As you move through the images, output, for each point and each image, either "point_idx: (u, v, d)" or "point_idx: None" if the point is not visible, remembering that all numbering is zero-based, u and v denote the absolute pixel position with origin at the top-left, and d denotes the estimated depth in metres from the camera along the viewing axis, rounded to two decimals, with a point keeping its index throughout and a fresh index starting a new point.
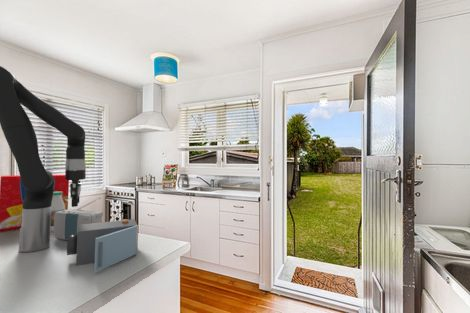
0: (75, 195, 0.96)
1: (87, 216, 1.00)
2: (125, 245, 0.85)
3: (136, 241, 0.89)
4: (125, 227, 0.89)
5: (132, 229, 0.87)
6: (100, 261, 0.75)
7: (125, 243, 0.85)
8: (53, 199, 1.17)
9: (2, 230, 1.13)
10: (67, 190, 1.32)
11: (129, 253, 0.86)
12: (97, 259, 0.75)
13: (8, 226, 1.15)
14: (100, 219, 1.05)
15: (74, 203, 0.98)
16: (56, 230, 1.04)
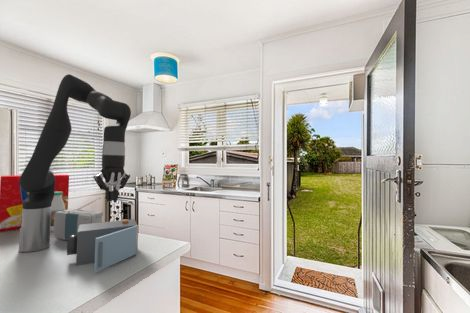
0: None
1: (87, 216, 1.00)
2: (125, 245, 0.85)
3: (136, 241, 0.89)
4: (125, 227, 0.89)
5: (132, 229, 0.87)
6: (100, 261, 0.75)
7: (125, 243, 0.85)
8: (53, 199, 1.17)
9: (2, 230, 1.13)
10: (67, 190, 1.32)
11: (129, 253, 0.86)
12: (97, 259, 0.75)
13: (8, 226, 1.15)
14: (100, 219, 1.05)
15: None
16: (56, 230, 1.04)
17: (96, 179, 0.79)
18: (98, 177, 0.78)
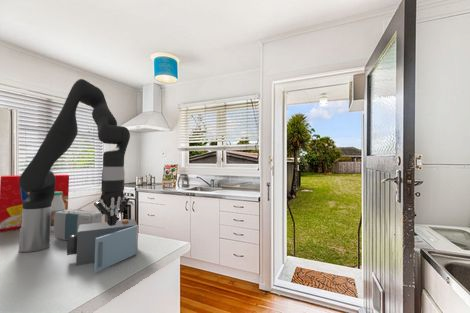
0: None
1: (87, 216, 1.00)
2: (125, 245, 0.85)
3: (136, 241, 0.89)
4: (125, 227, 0.89)
5: (132, 229, 0.87)
6: (100, 261, 0.75)
7: (125, 243, 0.85)
8: (53, 199, 1.17)
9: (2, 230, 1.13)
10: (67, 190, 1.32)
11: (129, 253, 0.86)
12: (97, 259, 0.75)
13: (8, 226, 1.15)
14: (100, 219, 1.05)
15: None
16: (56, 230, 1.04)
17: (96, 206, 0.79)
18: (99, 204, 0.78)
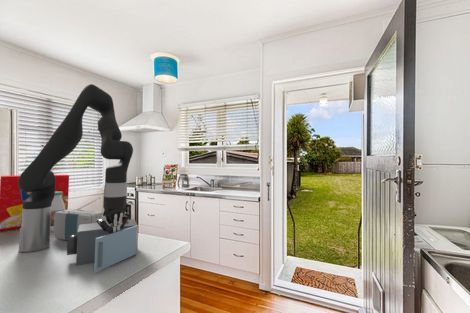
0: None
1: (87, 216, 1.00)
2: (125, 245, 0.85)
3: (136, 241, 0.89)
4: (125, 227, 0.89)
5: (132, 229, 0.87)
6: (100, 261, 0.75)
7: (125, 243, 0.85)
8: (53, 199, 1.17)
9: (2, 230, 1.13)
10: (67, 190, 1.32)
11: (129, 253, 0.86)
12: (97, 259, 0.75)
13: (8, 226, 1.15)
14: None
15: None
16: (56, 230, 1.04)
17: (100, 224, 0.77)
18: (102, 222, 0.77)
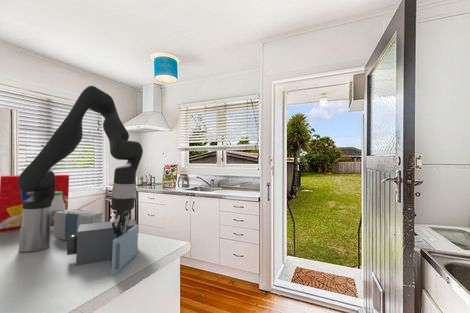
0: None
1: (87, 216, 1.00)
2: (131, 245, 0.84)
3: (137, 241, 0.89)
4: None
5: (135, 229, 0.87)
6: (118, 263, 0.74)
7: (131, 243, 0.84)
8: (53, 199, 1.17)
9: (2, 230, 1.13)
10: (67, 190, 1.32)
11: (133, 253, 0.86)
12: (115, 261, 0.73)
13: (8, 226, 1.15)
14: (100, 219, 1.05)
15: None
16: (56, 230, 1.04)
17: (115, 226, 0.75)
18: (120, 224, 0.75)
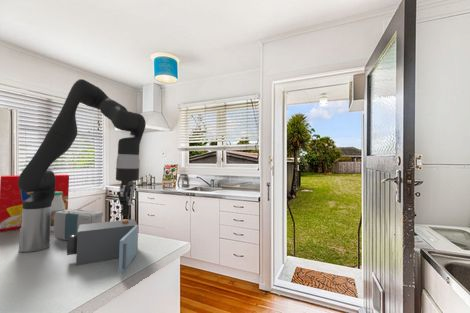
0: None
1: (87, 216, 1.00)
2: (133, 245, 0.84)
3: (137, 241, 0.89)
4: (125, 227, 0.89)
5: (135, 229, 0.87)
6: (125, 263, 0.74)
7: (133, 243, 0.84)
8: (53, 199, 1.17)
9: (2, 230, 1.13)
10: (67, 190, 1.32)
11: (134, 253, 0.86)
12: (122, 261, 0.74)
13: (8, 226, 1.15)
14: (100, 219, 1.05)
15: None
16: (56, 230, 1.04)
17: (121, 196, 0.75)
18: (125, 193, 0.75)
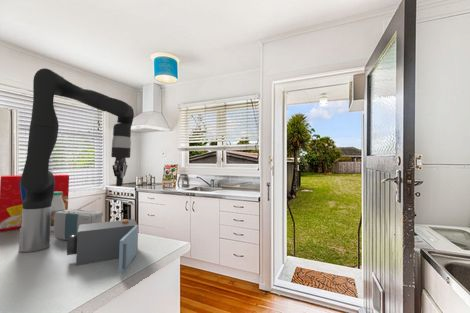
0: None
1: (87, 216, 1.00)
2: (133, 245, 0.84)
3: (137, 241, 0.89)
4: (125, 227, 0.89)
5: (135, 229, 0.87)
6: (125, 263, 0.74)
7: (133, 243, 0.84)
8: (53, 199, 1.17)
9: (2, 230, 1.13)
10: (67, 190, 1.32)
11: (134, 253, 0.86)
12: (122, 261, 0.74)
13: (8, 226, 1.15)
14: (100, 219, 1.05)
15: None
16: (56, 230, 1.04)
17: (115, 168, 0.94)
18: (118, 166, 0.94)
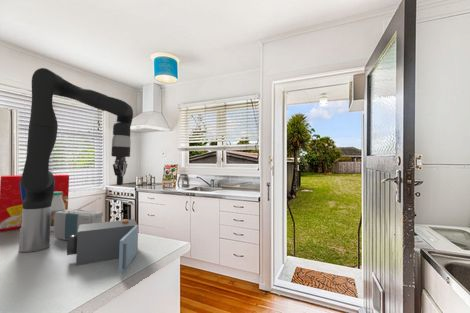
0: None
1: (87, 216, 1.00)
2: (133, 245, 0.84)
3: (137, 241, 0.89)
4: (125, 227, 0.89)
5: (135, 229, 0.87)
6: (125, 263, 0.74)
7: (133, 243, 0.84)
8: (53, 199, 1.17)
9: (2, 230, 1.13)
10: (67, 190, 1.32)
11: (134, 253, 0.86)
12: (122, 261, 0.74)
13: (8, 226, 1.15)
14: (100, 219, 1.05)
15: None
16: (56, 230, 1.04)
17: (115, 167, 0.95)
18: (119, 165, 0.95)
